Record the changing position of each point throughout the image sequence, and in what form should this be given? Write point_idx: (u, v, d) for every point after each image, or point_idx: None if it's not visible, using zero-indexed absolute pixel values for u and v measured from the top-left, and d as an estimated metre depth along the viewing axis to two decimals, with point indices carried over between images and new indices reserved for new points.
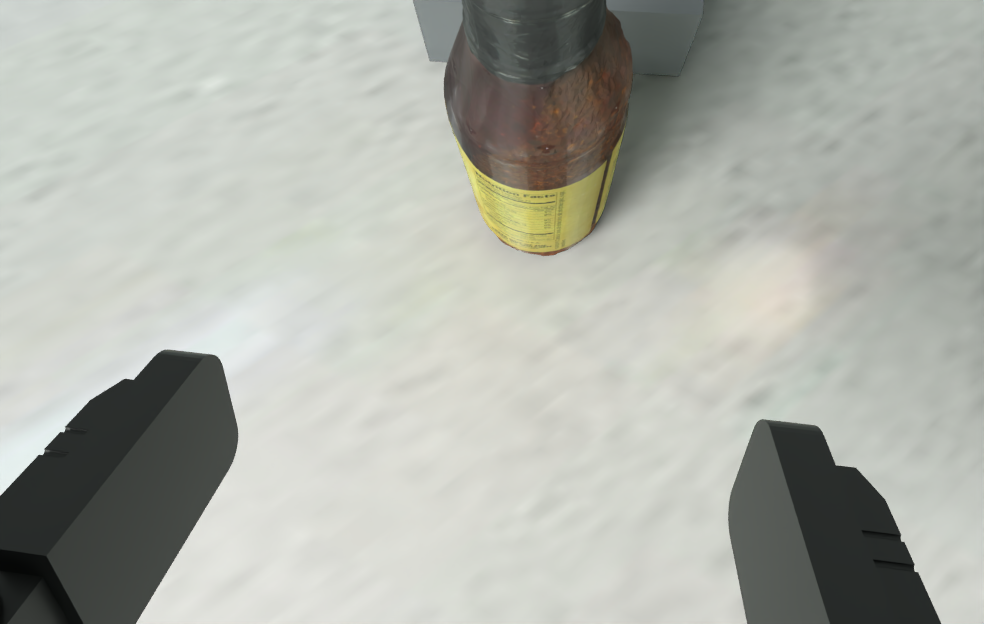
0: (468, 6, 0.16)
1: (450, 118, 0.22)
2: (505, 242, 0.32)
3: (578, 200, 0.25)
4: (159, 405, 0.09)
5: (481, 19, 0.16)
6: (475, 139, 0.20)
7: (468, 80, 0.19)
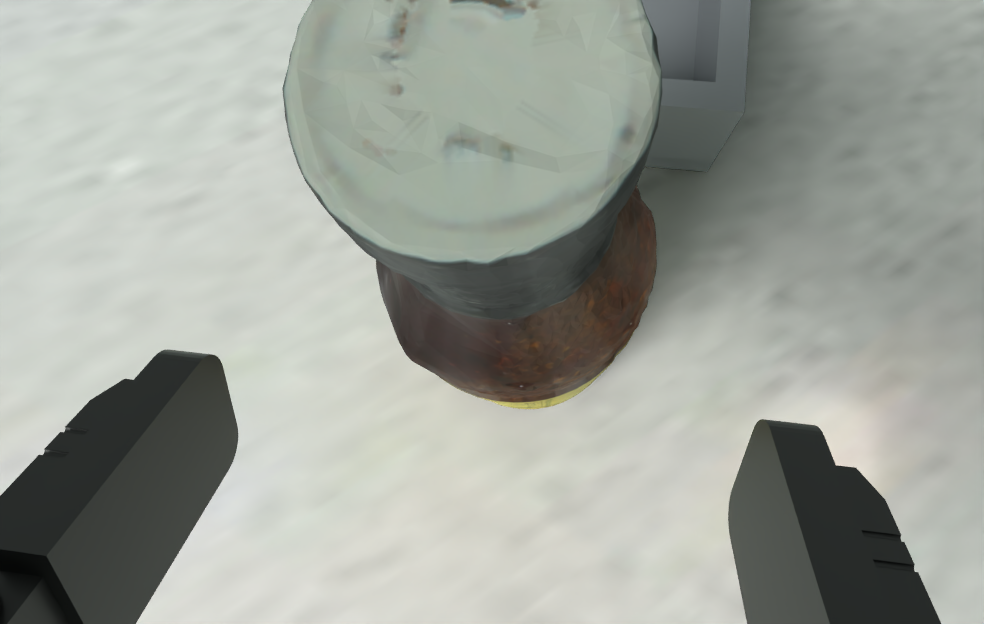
0: None
1: None
2: None
3: (573, 392, 0.18)
4: (159, 405, 0.09)
5: None
6: (412, 360, 0.13)
7: (397, 285, 0.12)
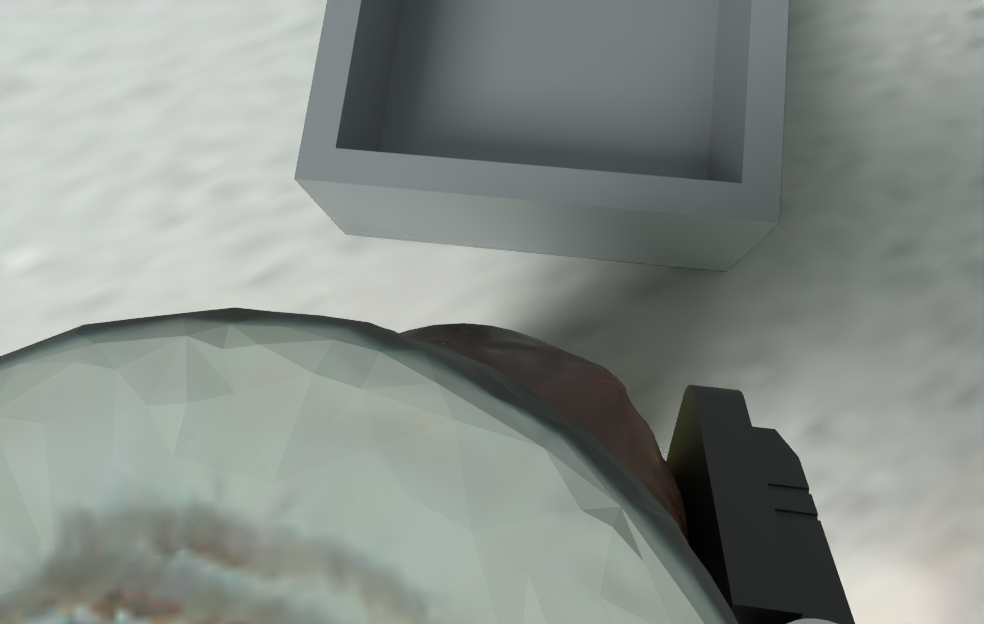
0: None
1: None
2: None
3: None
4: None
5: None
6: None
7: None
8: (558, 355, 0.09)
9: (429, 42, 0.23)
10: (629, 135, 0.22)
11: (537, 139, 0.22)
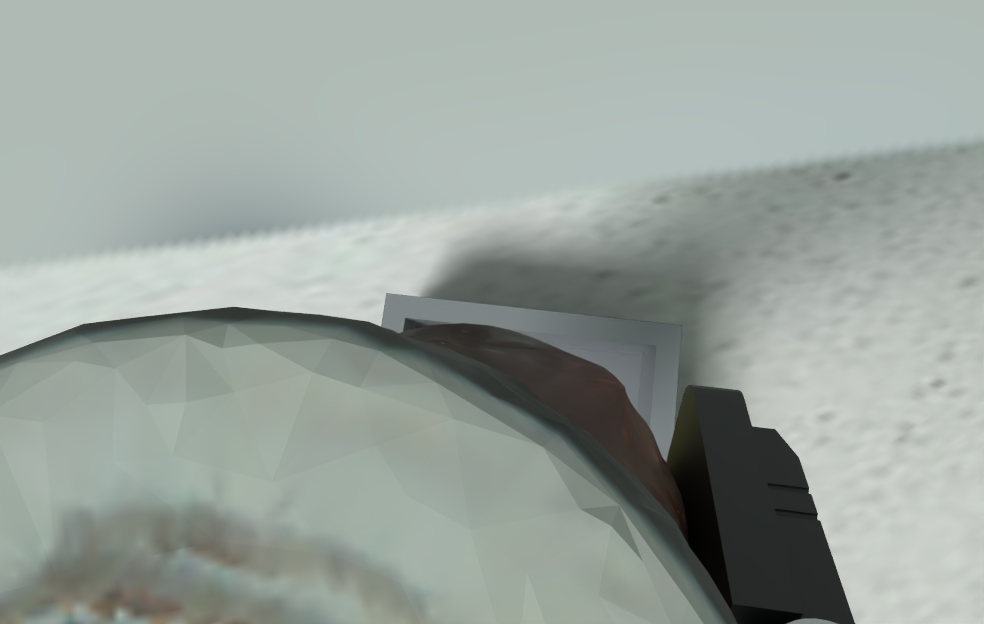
0: None
1: None
2: None
3: None
4: None
5: None
6: None
7: None
8: (558, 355, 0.09)
9: None
10: None
11: None
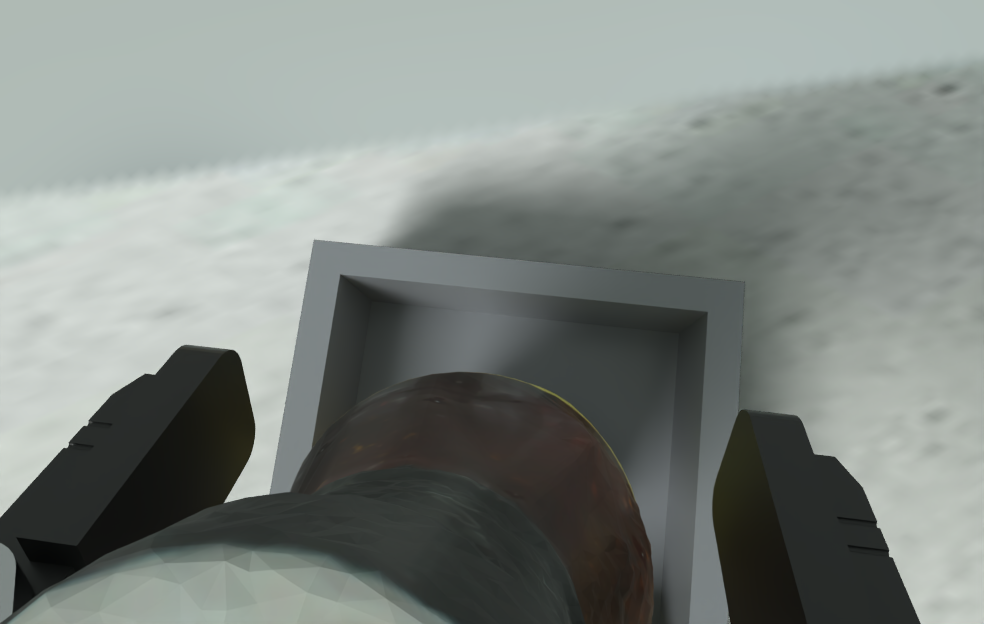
0: None
1: None
2: None
3: None
4: (182, 399, 0.09)
5: None
6: None
7: None
8: (540, 409, 0.10)
9: None
10: None
11: None
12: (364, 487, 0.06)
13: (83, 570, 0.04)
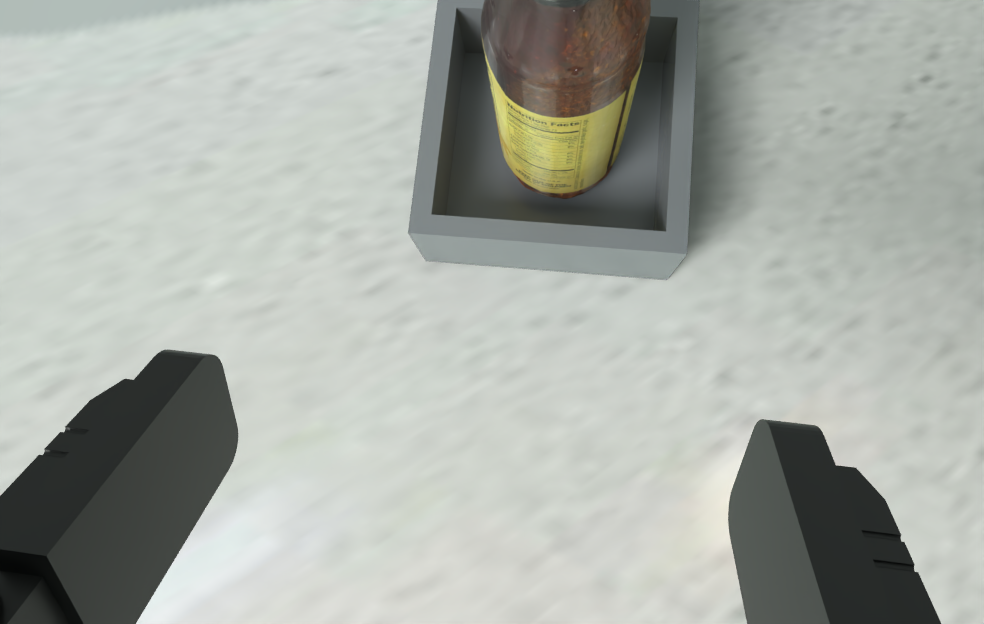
0: None
1: (486, 51, 0.25)
2: (527, 185, 0.35)
3: (599, 132, 0.27)
4: (159, 405, 0.09)
5: None
6: (511, 64, 0.23)
7: (507, 8, 0.22)
8: None
9: (476, 137, 0.37)
10: (604, 195, 0.35)
11: (547, 199, 0.36)
12: None
13: None
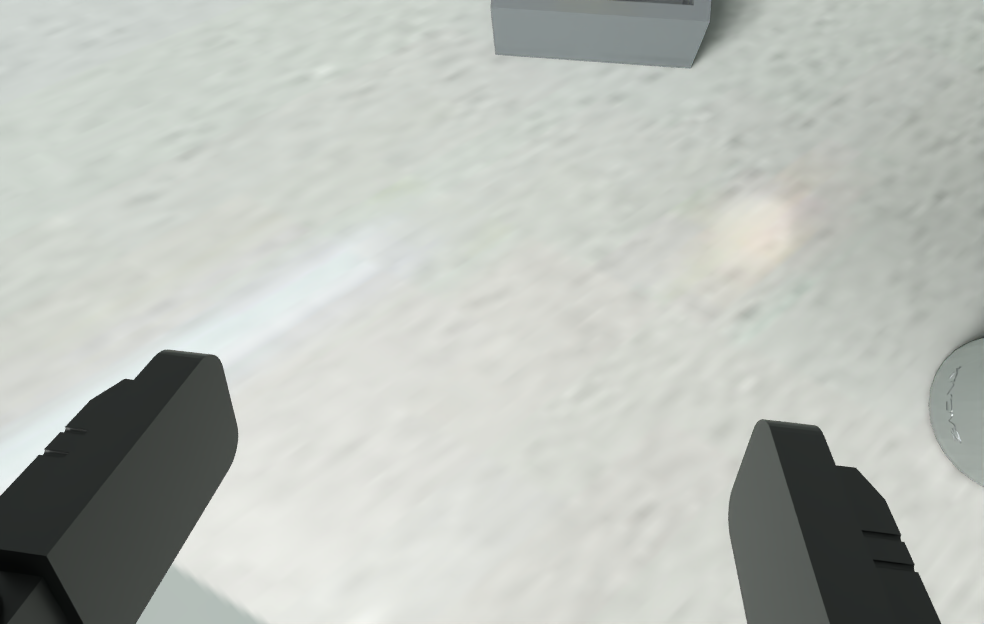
0: None
1: None
2: None
3: None
4: (159, 405, 0.09)
5: None
6: None
7: None
8: None
9: None
10: (641, 0, 0.44)
11: None
12: None
13: None
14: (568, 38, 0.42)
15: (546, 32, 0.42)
